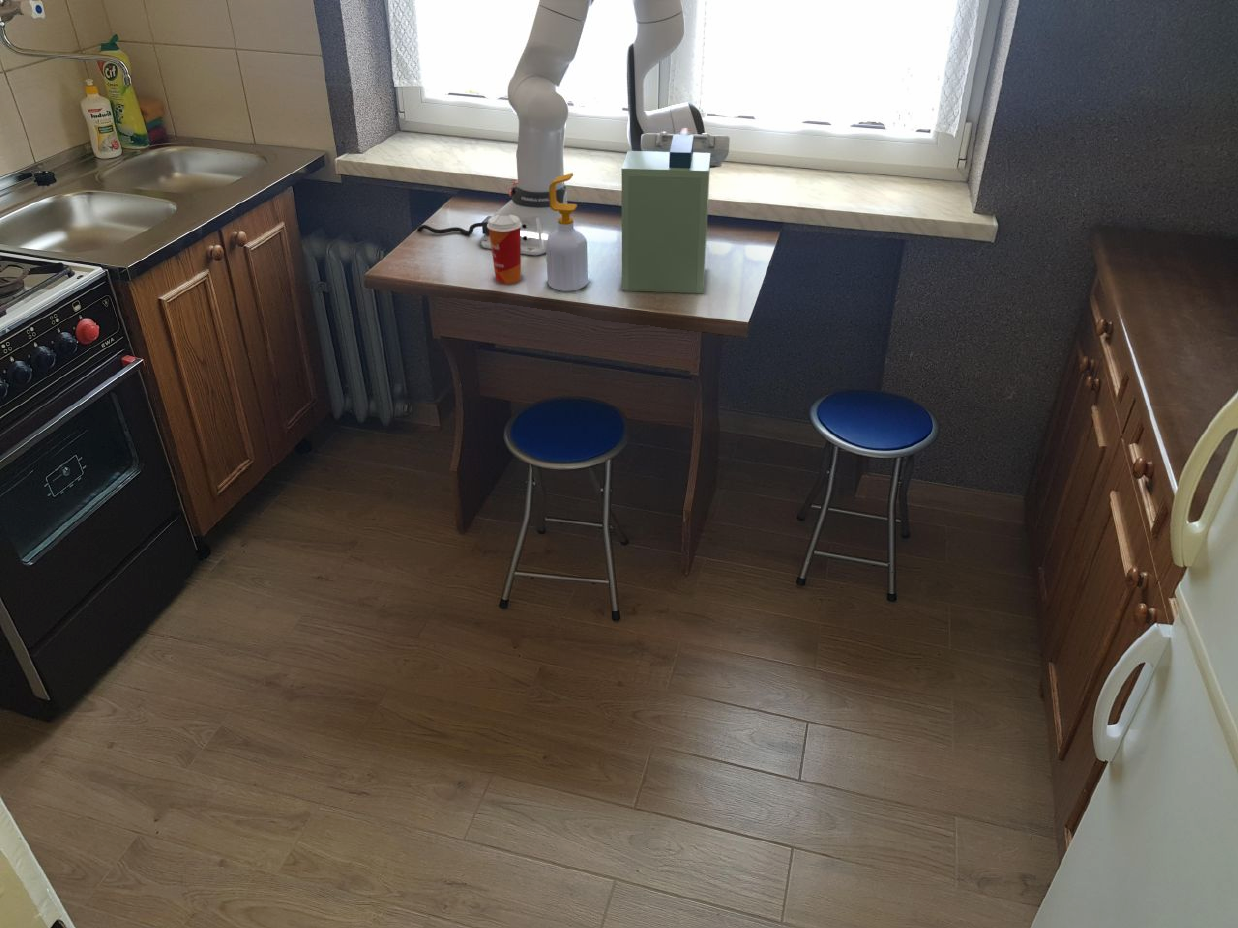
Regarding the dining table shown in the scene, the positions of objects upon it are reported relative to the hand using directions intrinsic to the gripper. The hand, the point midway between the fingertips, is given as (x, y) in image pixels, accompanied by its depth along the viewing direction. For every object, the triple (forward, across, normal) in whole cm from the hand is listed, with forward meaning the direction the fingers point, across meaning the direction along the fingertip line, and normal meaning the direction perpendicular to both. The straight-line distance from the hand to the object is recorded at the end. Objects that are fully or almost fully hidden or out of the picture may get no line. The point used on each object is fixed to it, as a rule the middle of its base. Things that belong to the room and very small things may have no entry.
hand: (684, 136), depth 212 cm
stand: (-3, -3, +31) cm, 32 cm away
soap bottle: (+1, -24, +34) cm, 42 cm away
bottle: (+6, 0, +5) cm, 8 cm away
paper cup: (0, -38, +33) cm, 51 cm away
